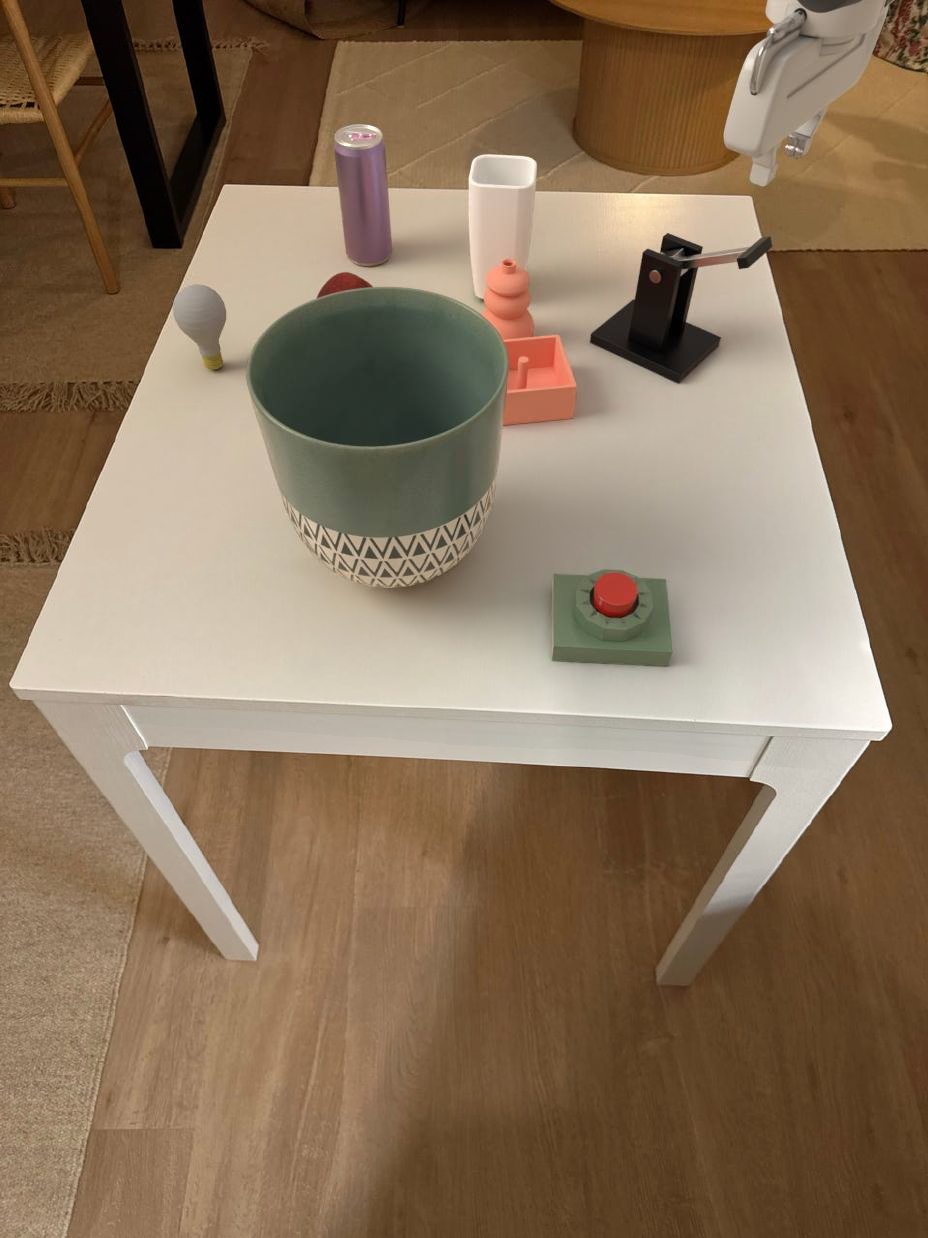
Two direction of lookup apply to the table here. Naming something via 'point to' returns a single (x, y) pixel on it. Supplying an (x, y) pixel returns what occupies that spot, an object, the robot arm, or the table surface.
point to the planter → (383, 428)
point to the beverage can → (363, 193)
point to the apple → (343, 284)
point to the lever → (722, 256)
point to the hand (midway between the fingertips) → (778, 167)
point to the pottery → (528, 352)
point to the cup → (500, 213)
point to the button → (615, 594)
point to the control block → (610, 623)
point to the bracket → (660, 317)
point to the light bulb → (202, 320)
